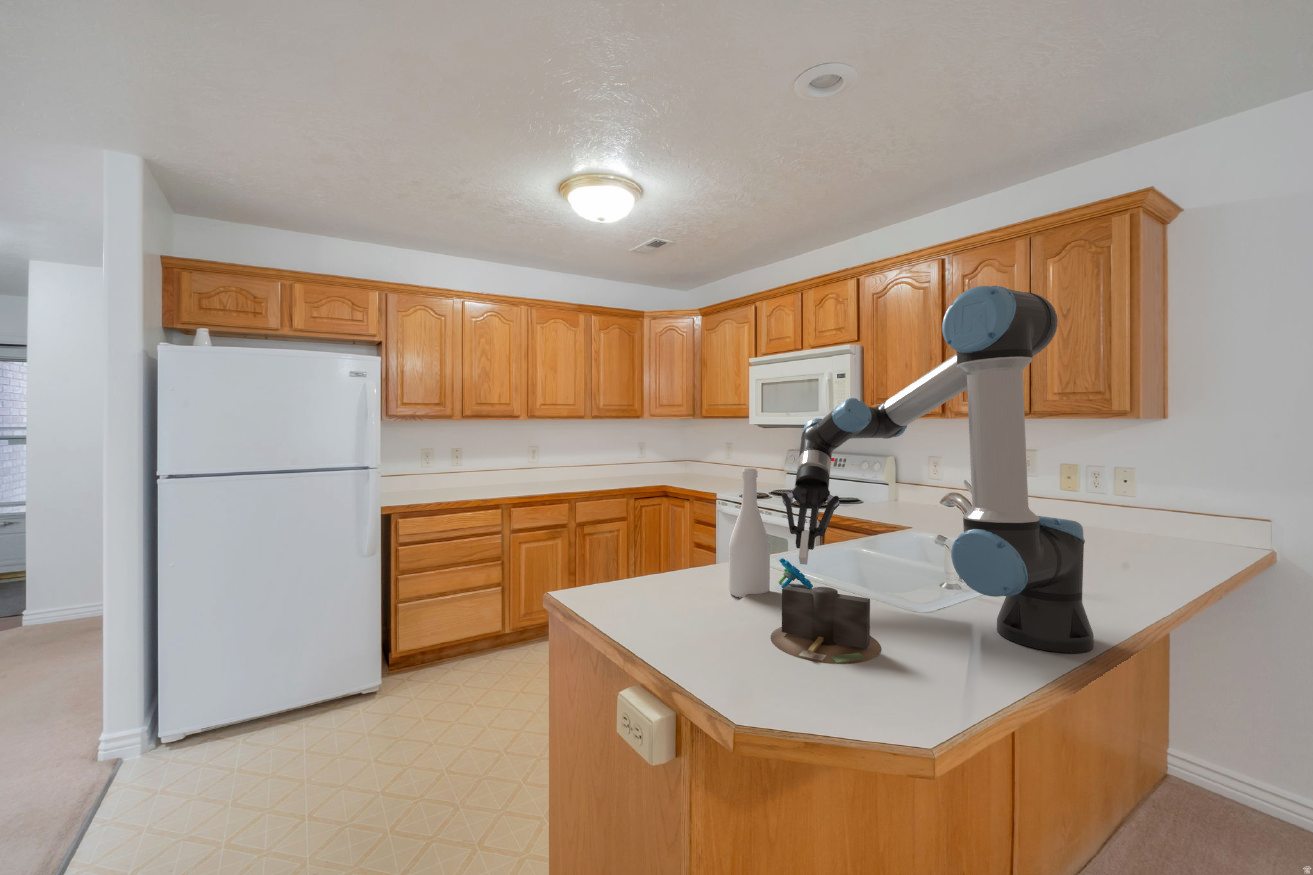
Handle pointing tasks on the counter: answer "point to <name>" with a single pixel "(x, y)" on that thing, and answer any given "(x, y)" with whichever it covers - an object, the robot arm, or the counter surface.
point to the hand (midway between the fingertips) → (802, 560)
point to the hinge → (826, 616)
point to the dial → (824, 649)
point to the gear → (793, 575)
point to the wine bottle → (749, 544)
